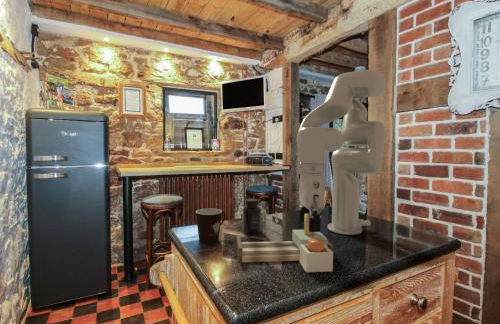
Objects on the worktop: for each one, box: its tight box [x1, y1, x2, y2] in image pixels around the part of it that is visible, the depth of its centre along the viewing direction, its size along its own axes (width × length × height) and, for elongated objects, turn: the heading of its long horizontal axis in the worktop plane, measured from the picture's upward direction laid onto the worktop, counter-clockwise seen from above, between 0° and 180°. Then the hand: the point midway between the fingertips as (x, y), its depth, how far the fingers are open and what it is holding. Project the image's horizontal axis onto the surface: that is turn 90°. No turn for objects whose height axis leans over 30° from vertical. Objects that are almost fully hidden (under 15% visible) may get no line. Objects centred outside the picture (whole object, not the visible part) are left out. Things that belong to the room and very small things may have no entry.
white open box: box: [299, 244, 334, 273], centre depth 73 cm, size 7×6×5 cm
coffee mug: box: [195, 207, 226, 245], centre depth 92 cm, size 12×9×10 cm
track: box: [236, 235, 334, 263], centre depth 82 cm, size 27×10×4 cm, turn 96°
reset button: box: [308, 238, 324, 252], centre depth 73 cm, size 4×4×3 cm
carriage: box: [291, 213, 329, 249], centre depth 82 cm, size 8×9×9 cm
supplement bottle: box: [242, 198, 262, 235], centre depth 102 cm, size 7×7×12 cm
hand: (309, 226), depth 82 cm, fingers open, 8 cm apart
